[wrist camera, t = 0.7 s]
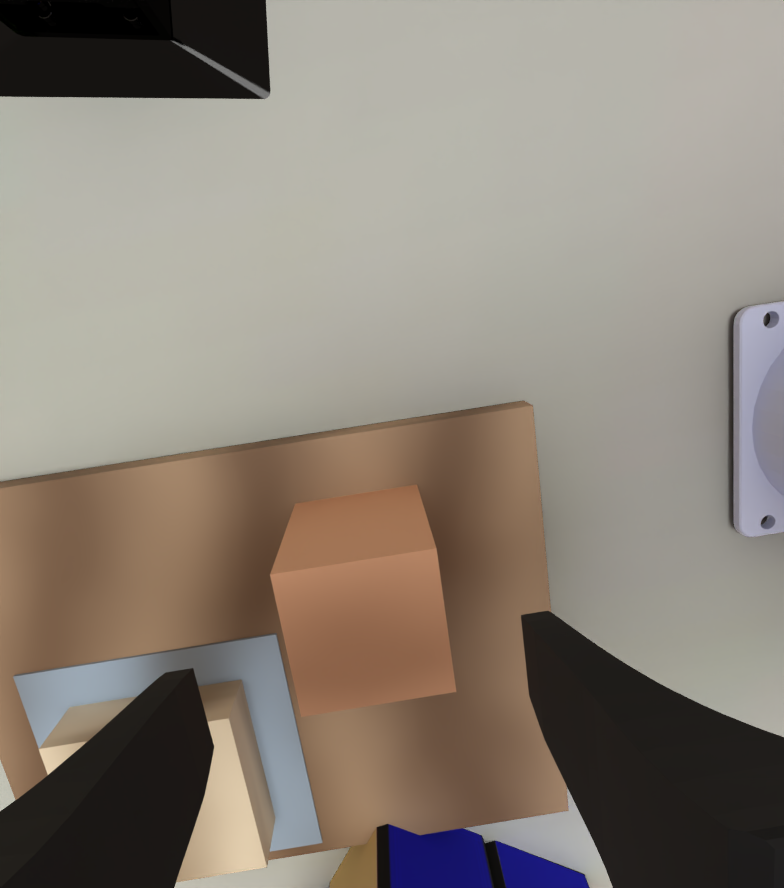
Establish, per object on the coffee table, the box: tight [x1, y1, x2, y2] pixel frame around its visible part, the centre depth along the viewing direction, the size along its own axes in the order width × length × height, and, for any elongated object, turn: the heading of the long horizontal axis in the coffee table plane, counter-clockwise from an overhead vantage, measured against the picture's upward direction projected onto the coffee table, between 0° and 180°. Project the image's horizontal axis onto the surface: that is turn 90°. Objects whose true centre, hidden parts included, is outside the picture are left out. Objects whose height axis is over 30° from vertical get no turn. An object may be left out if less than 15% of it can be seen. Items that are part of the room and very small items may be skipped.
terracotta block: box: [270, 485, 456, 717], centre depth 16 cm, size 4×4×5 cm
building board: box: [0, 401, 569, 882], centre depth 19 cm, size 20×16×3 cm
